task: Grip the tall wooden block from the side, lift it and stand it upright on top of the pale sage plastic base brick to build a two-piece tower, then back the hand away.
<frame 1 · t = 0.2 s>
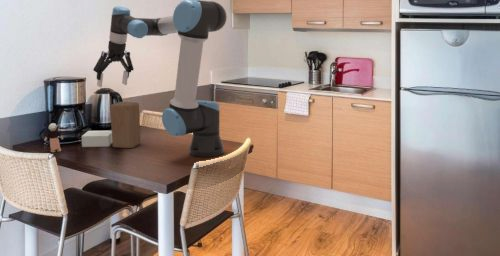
hand: (112, 85, 211), 27 cm above the table, tool tilted 15°, fingers open, 13 cm apart
grandmother figurine: (54, 151, 198), on the table
wooden block: (126, 146, 209), on the table
base brick: (98, 143, 212), on the table
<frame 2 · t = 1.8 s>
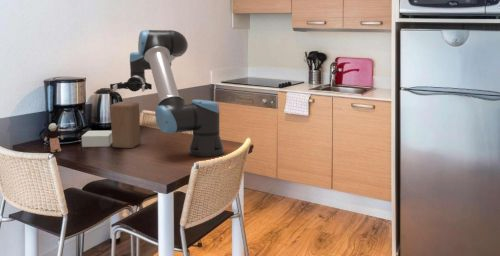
hand: (128, 88, 215), 25 cm above the table, tool horizontal, fingers open, 13 cm apart
nothing on the table moved.
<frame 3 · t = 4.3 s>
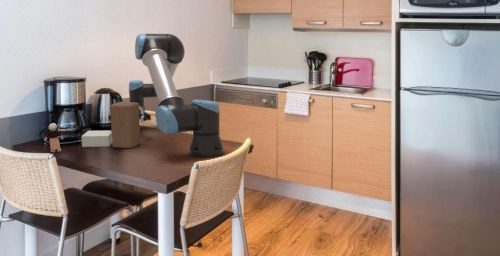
hand: (126, 120, 211), 11 cm above the table, tool horizontal, fingers open, 13 cm apart
nothing on the table moved.
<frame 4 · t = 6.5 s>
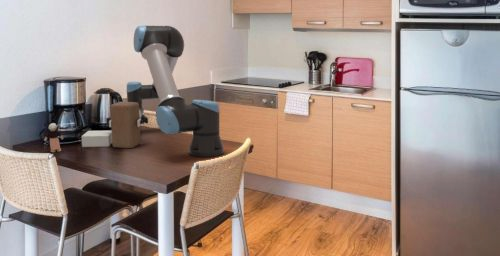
hand: (124, 124, 203), 11 cm above the table, tool horizontal, fingers closed on wooden block, 12 cm apart
wooden block: (126, 146, 209), on the table, touching gripper
everything else where it was.
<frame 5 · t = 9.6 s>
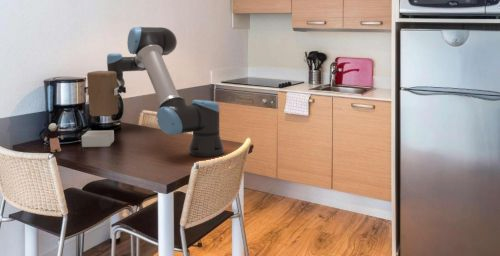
hand: (101, 92, 204), 25 cm above the table, tool horizontal, fingers closed on wooden block, 12 cm apart
wooden block: (104, 115, 210), point 14 cm above the table, touching gripper
everything else where it was.
when the fingers open (17 cm above the table, at t = 12.5 s): wooden block drops 1 cm, resting on base brick.
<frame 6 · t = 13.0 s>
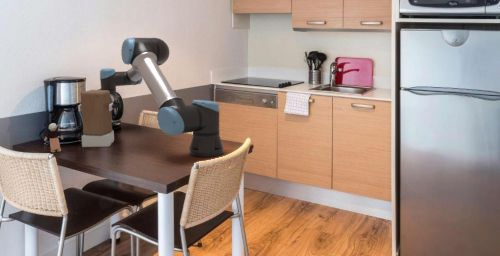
hand: (94, 108, 206), 17 cm above the table, tool horizontal, fingers open, 13 cm apart
wooden block: (98, 133, 212), point 5 cm above the table, touching base brick
everything else where it was.
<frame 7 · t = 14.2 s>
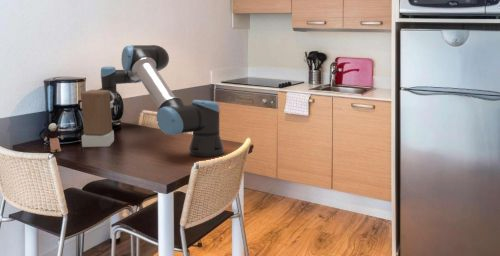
hand: (95, 105, 210), 18 cm above the table, tool horizontal, fingers open, 13 cm apart
wooden block: (98, 133, 212), point 5 cm above the table, touching base brick, gripper
everything else where it was.
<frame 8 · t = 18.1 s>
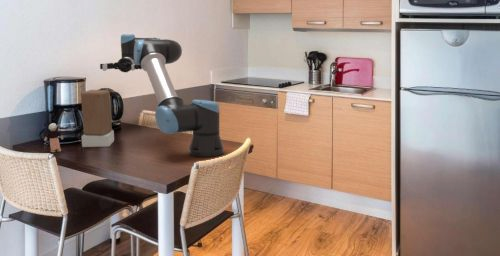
hand: (117, 67, 215), 35 cm above the table, tool horizontal, fingers open, 13 cm apart
wooden block: (98, 133, 212), point 5 cm above the table, touching base brick
everything else where it was.
at the end: wooden block inside the target area on the base brick (0.3 cm from its centre), point 4.8 cm above the base brick's base; wooden block tilted 0°; the gripper is holding nothing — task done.
